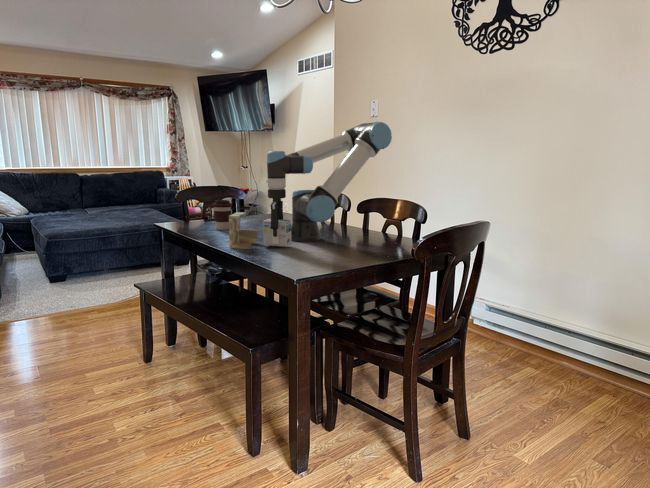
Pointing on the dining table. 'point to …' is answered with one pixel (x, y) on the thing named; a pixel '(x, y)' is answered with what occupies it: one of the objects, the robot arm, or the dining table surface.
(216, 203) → the coffee cup
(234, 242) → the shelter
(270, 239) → the light bulb box
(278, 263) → the dining table surface
